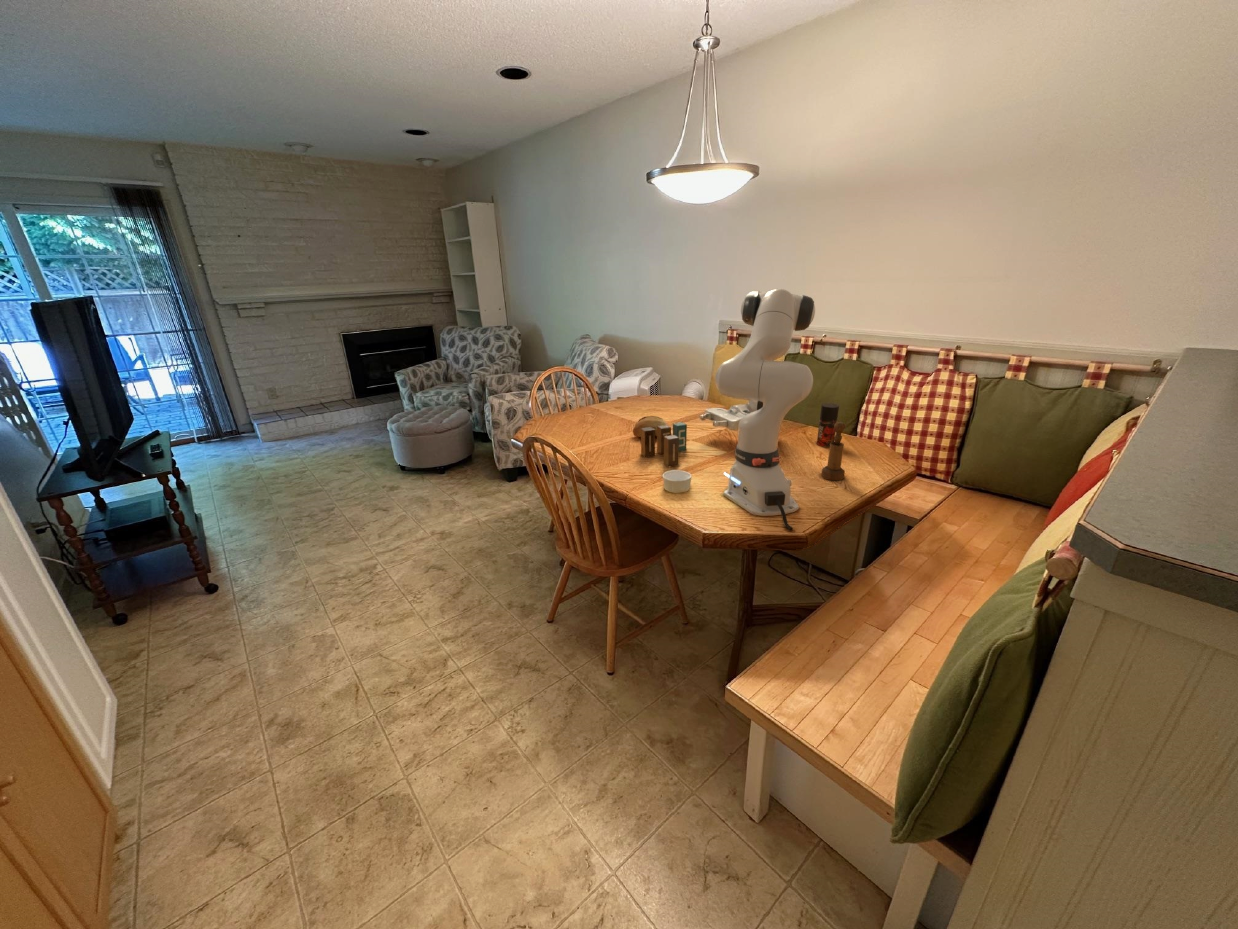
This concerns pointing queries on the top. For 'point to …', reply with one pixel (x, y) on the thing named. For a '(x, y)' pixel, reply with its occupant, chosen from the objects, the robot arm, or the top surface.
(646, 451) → the tile
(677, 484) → the ramekin
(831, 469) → the brown wooden tall figure
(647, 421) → the bread roll
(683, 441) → the s tile
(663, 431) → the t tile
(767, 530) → the top surface
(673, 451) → the tile
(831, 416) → the deodorant
